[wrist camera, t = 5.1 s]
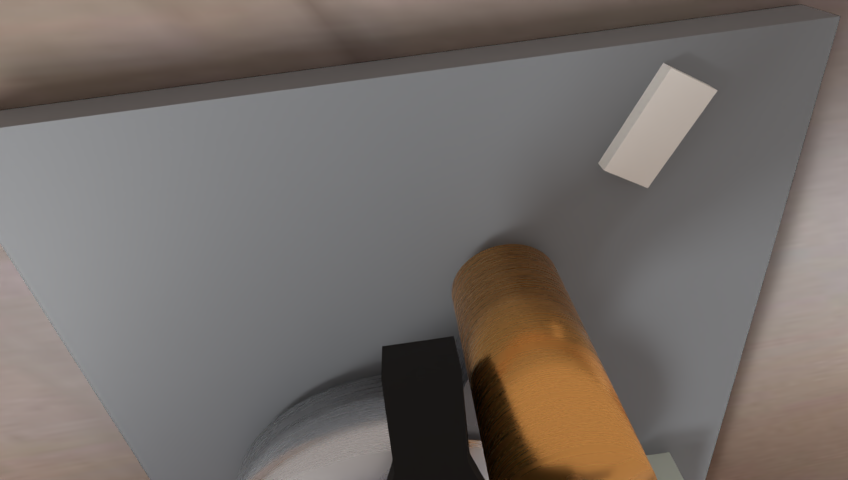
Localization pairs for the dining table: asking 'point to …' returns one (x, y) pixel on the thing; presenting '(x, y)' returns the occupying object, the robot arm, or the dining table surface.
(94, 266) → the stand
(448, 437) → the robot arm
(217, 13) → the dining table surface
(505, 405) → the crank wheel
